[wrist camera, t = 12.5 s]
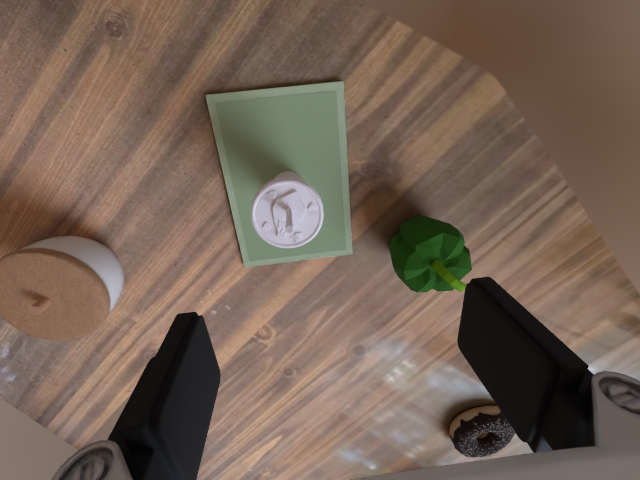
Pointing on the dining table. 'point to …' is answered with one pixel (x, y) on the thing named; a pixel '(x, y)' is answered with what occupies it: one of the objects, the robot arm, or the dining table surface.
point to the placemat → (285, 160)
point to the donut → (480, 431)
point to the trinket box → (60, 287)
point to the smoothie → (287, 211)
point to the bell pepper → (430, 255)
